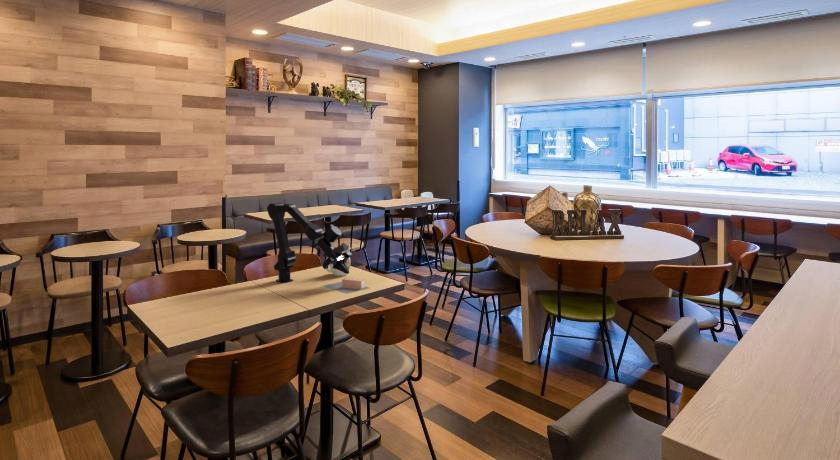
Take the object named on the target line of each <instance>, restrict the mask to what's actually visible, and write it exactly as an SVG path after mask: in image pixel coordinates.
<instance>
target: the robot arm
mask: <svg viewBox="0 0 840 460" xmlns="http://www.w3.org/2000/svg"><path fill="white" fill-rule="evenodd" d="M266 211H267V214H268V216H269V217H268V218H270V220H272V223H273V226H274V232H275V235H276V240H277V245H278V250H279V251H278V252H277V253H278V254H277V262H276V263H275V264H274V266H273V269H274V270H275V271H277V276H278V277H277V278H278V279H275V281H276V282H279V283H284V284H285V283H289V282H292V281H294V279H292V278H291V269H292V268H293V267H294V264H295V263H296V259H297V256H296V252H295V251H296V250H292V249H291V248H290V245H289V244H290V243H289V240H288V235H287V231H286V226H285V221H284V219H285V215H286V213H288V214H289V216H290V217H292V219H293V220H294V221H295V222H296V223H297V224H298V225H299V226H300V227H301V228H302V230H303V232H304V234H305V236H306V237H307V239H308V240H310V241H313V242H314V241H315V242H314V243H313V249H316V248H319V249H320V251H321V252H322V253H323V254H322V256H323V257H326V258H327V259H326V258H325V260H324V261H323V262H322V264H321V266H322V268H323V270H326V269H329V267H330V266H329V265H330V264H332V263H333V267H332V268H335V269H337V270H340V271H342V272H344V273H346V274H347V275H349V273H350V269H349V270H348V267H347V265H346V261H347V260H348V258H349V257H350V258H351V256H353V253H351V251H350V250H349V249H348V248H349V247H350V245H349V244H348V243H347V242H346V241H345V242H342V243H341V244H340V245H333V244H332V243H335V242H336V241H337V239H338V238H339V237H340V236H341V235H342V234H343V233H342V230H341V228H339V227H338V226H335V225H334V224H329V226H327V227H326V230H324V229H322V227H320V226H318V224H315V223H313V222H311V221H310V220H309V219H308V217H306V215H304V213H303V212H302V211H300V209H299V208H298V207H296V204H294V203H282V202H271V203H269V204H268V205H267V207H266ZM316 240H317V241H316ZM346 250H349V251H347V252H344V253H343V251H346Z"/></svg>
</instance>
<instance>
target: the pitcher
mask: <svg viewBox="0 0 840 460" xmlns="http://www.w3.org/2000/svg"><path fill="white" fill-rule="evenodd" d="M348 249H349V250H346V251H343V253H344V252H347V251H350V250H351V249H352V247H350V246H349V248H348ZM326 259H327V257H326V258H325V260H326ZM346 265H347V267H348V270H349V271H350V268H351V256H350V257H349V258H348V260H347V261H346ZM328 267H329V268H328V269H325V270H326V272H328V273H329V274H332V275H333V276H335V277H344V276H347V275H348V274H346V273H344V272H342V271H340V270H337V269H335V268H332V267H333V263H332V264H330V265H329V266H328Z"/></svg>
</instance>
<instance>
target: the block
mask: <svg viewBox="0 0 840 460" xmlns="http://www.w3.org/2000/svg"><path fill="white" fill-rule="evenodd" d="M341 282H342V288H351V289H363V288H365V286H366V278H364V279H363V278H354V277H347V276H346V277H344V278H343V279H342V278H341Z"/></svg>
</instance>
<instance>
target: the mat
mask: <svg viewBox="0 0 840 460" xmlns="http://www.w3.org/2000/svg"><path fill="white" fill-rule="evenodd" d="M322 287H324V288H327V289H330V290H332V291H333V290H334V291H337V292H340V293H344V294H346V295H347V294H351V293H355V292H360V291H363V290H369V289H370V286H366V285H365V288H363V289H351V288H342V281H338V282H335V283H329V284H323V285H322Z"/></svg>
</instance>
